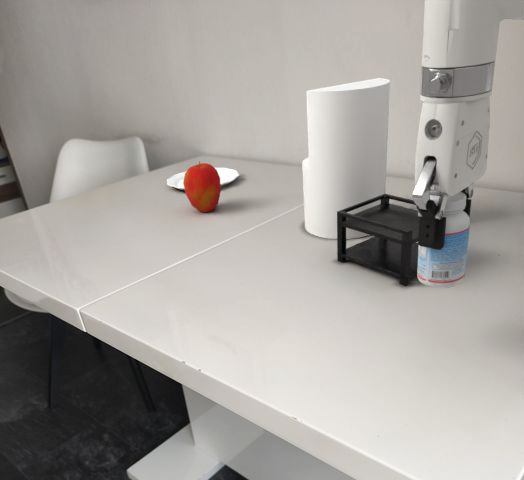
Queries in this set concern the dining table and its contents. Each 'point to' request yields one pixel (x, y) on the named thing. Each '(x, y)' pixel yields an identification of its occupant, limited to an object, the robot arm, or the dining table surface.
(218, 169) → the plate
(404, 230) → the rack
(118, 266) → the dining table surface
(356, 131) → the cylinder
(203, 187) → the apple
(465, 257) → the pill bottle
